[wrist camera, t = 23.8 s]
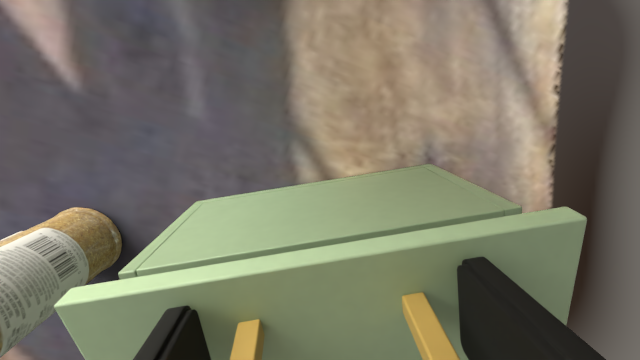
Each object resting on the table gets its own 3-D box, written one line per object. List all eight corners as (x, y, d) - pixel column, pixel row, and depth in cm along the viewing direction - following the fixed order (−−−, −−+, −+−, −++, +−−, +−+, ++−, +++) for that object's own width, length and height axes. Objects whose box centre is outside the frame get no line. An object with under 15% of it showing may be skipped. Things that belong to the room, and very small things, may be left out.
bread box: (195, 201, 20) (116, 273, 11) (430, 163, 20) (522, 206, 12) (243, 379, 23) (209, 535, 15) (442, 346, 24) (520, 481, 15)
